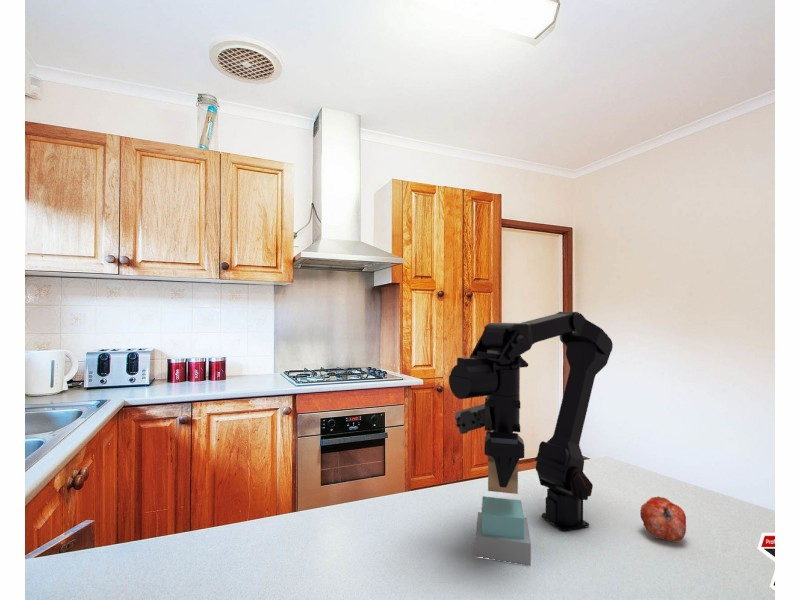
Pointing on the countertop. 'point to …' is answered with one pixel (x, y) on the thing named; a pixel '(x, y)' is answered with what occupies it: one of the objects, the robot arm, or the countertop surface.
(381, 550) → the countertop surface
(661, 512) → the pomegranate
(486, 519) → the teal block
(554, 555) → the countertop surface
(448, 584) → the countertop surface
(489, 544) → the slate block
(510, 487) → the walnut cube
